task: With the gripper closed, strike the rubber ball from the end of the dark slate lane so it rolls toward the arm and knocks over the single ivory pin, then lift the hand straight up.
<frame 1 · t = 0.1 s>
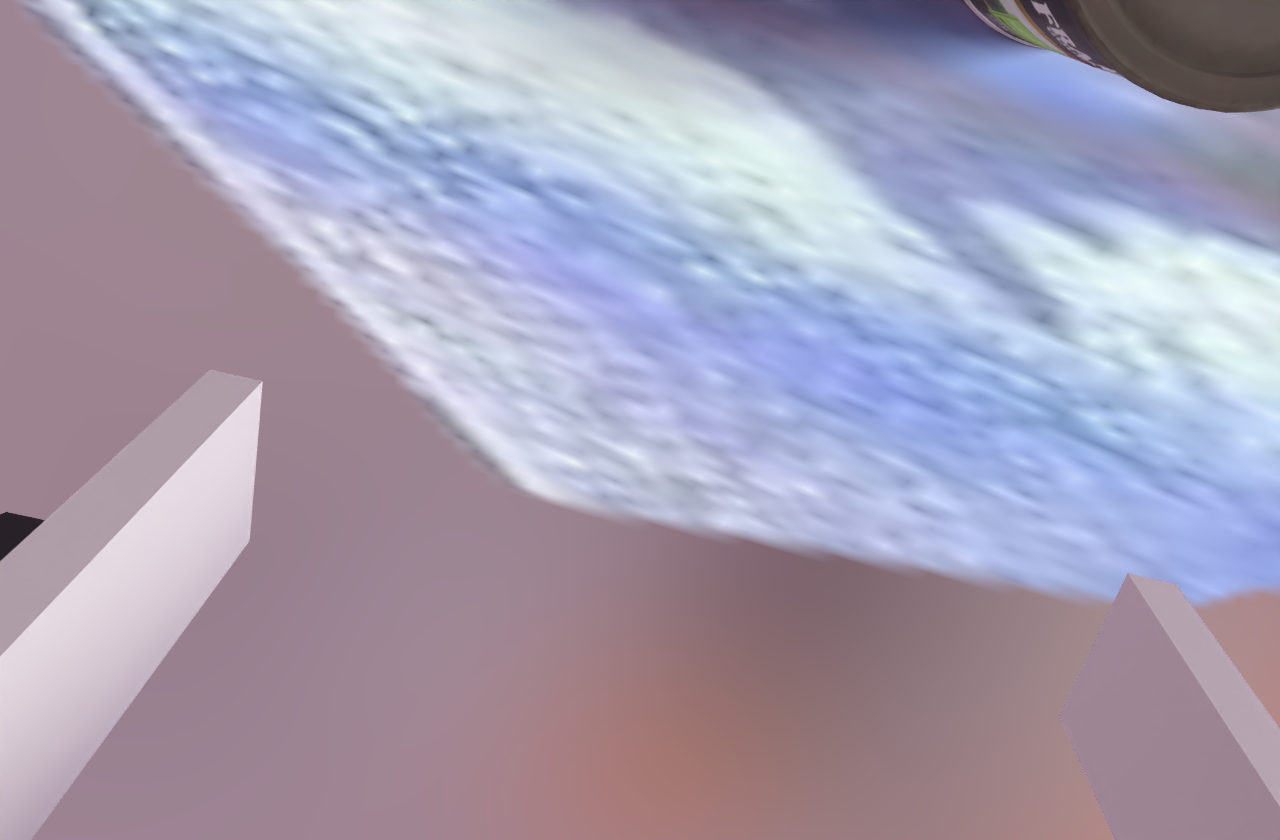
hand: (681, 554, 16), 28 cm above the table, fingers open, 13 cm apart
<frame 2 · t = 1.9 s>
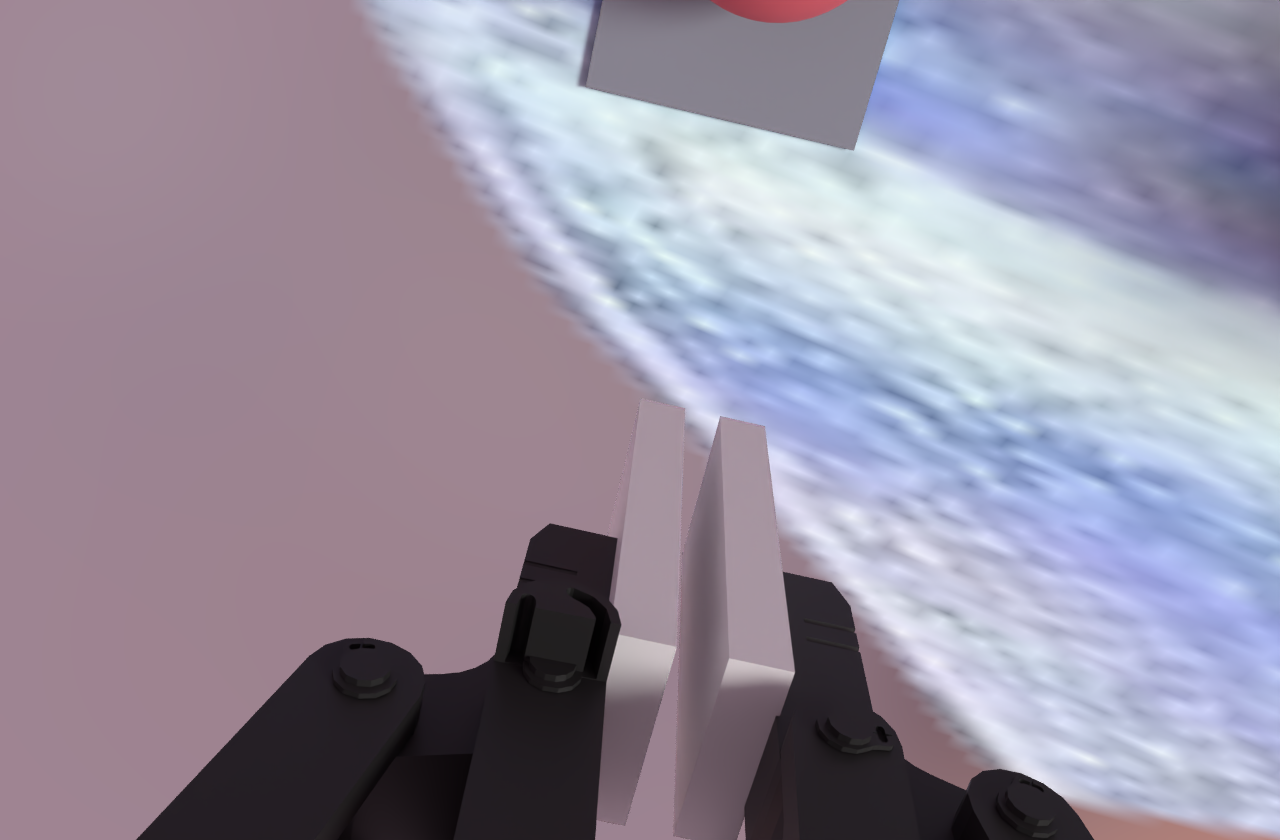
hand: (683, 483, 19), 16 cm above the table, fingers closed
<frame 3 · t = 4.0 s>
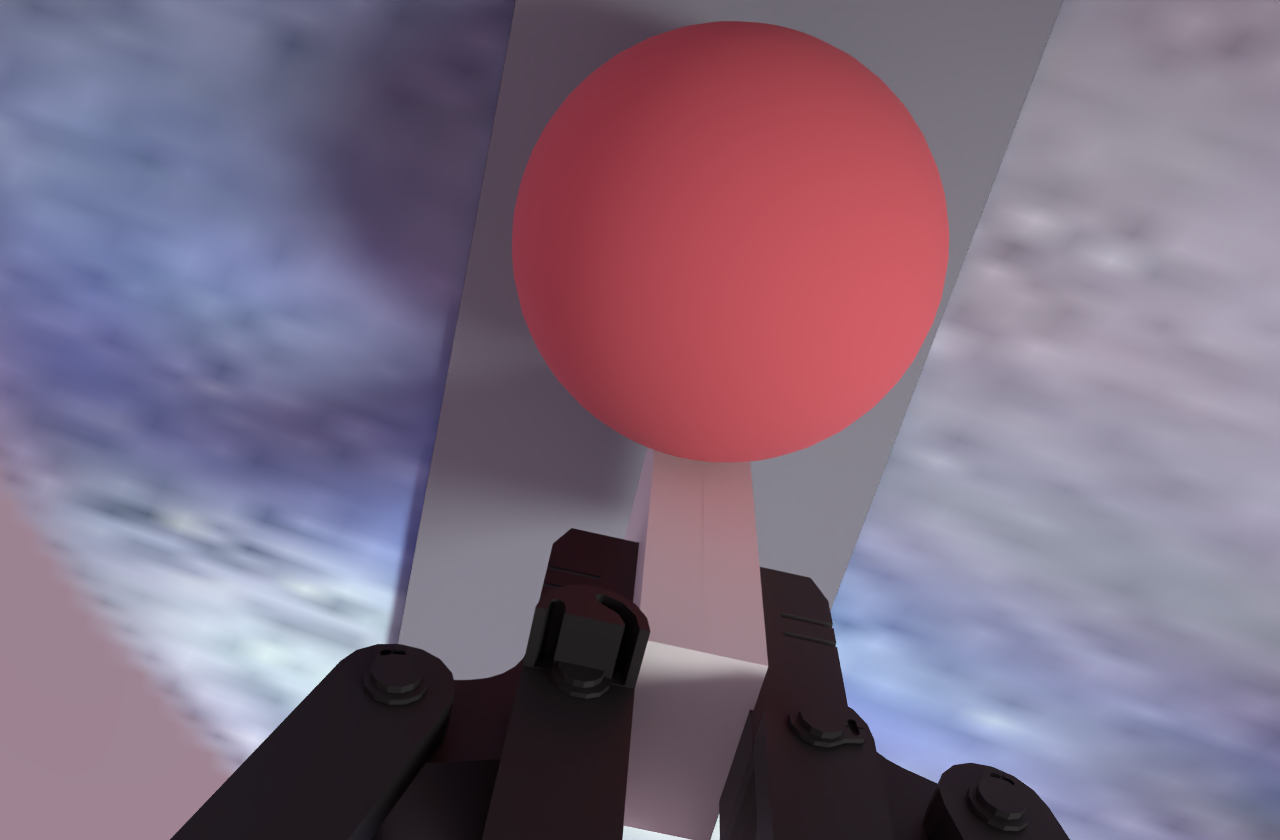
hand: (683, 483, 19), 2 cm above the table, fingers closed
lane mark: (778, 25, 17), on the table
ball: (727, 248, 15), resting on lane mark
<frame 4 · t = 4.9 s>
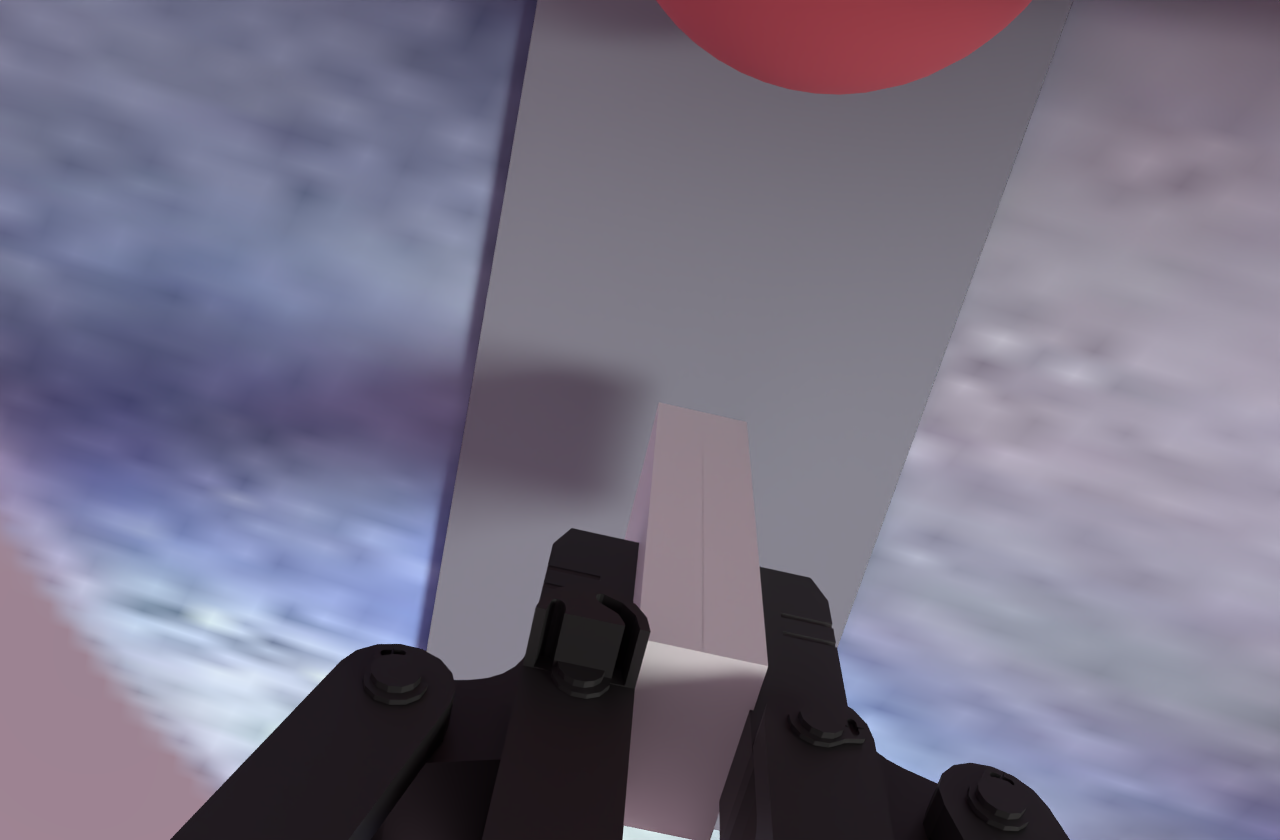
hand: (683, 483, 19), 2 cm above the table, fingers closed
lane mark: (755, 170, 18), on the table
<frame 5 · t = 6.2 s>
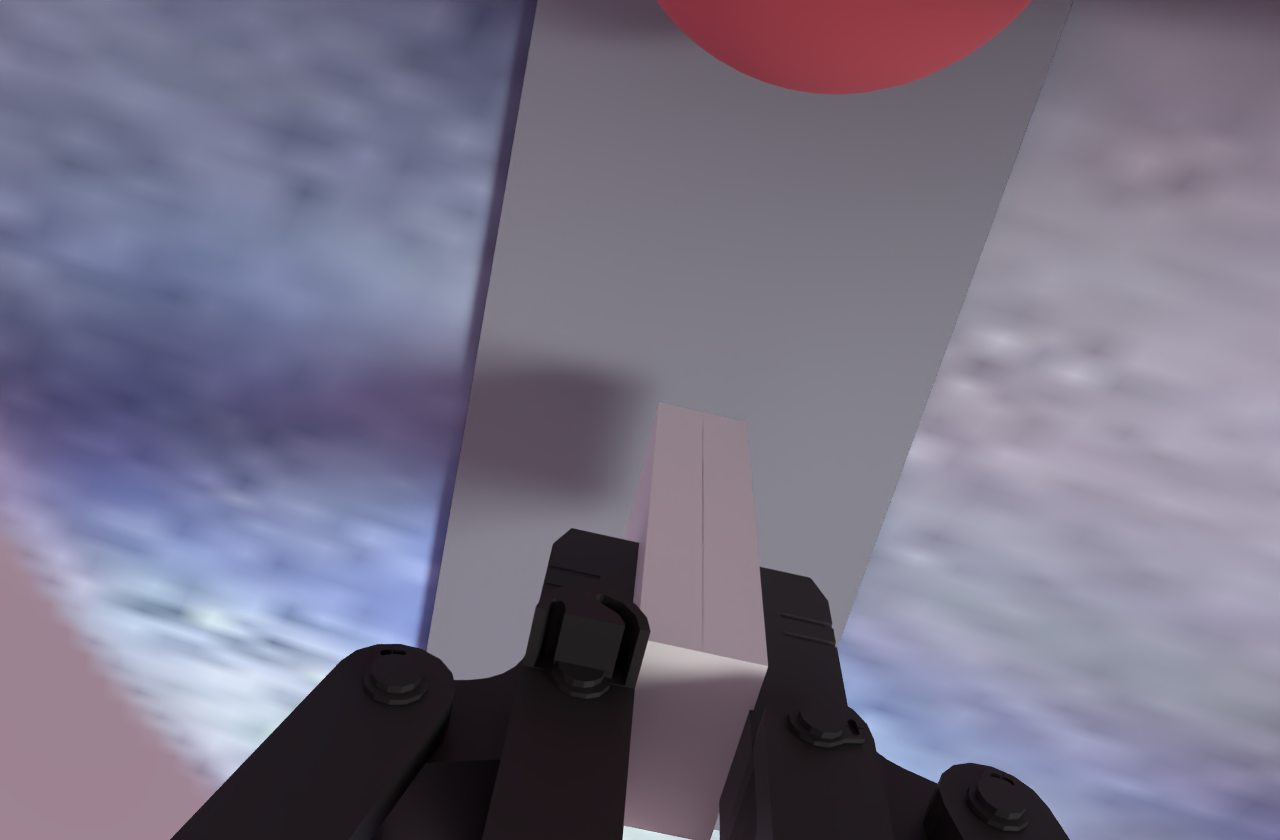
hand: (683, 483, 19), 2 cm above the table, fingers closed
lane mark: (755, 170, 18), on the table
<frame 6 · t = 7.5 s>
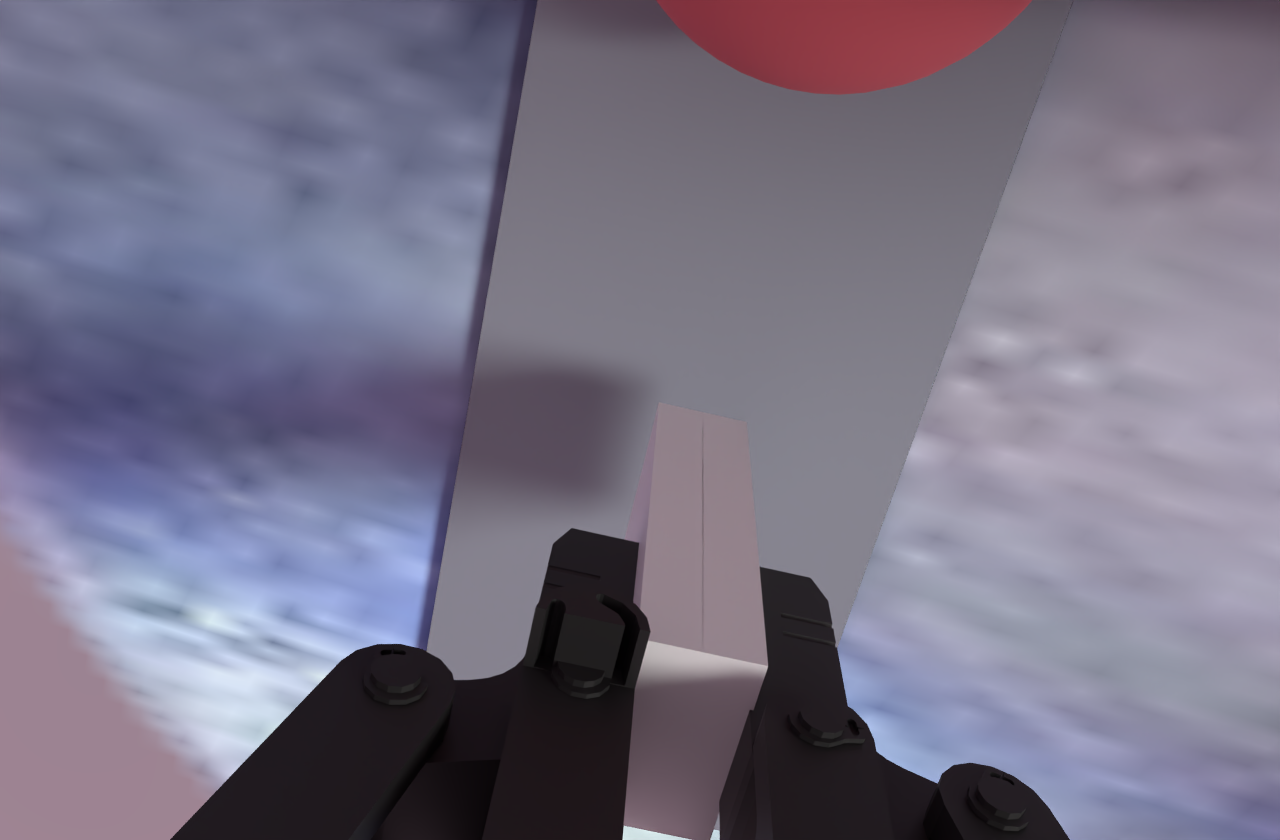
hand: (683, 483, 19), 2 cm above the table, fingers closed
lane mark: (755, 170, 18), on the table
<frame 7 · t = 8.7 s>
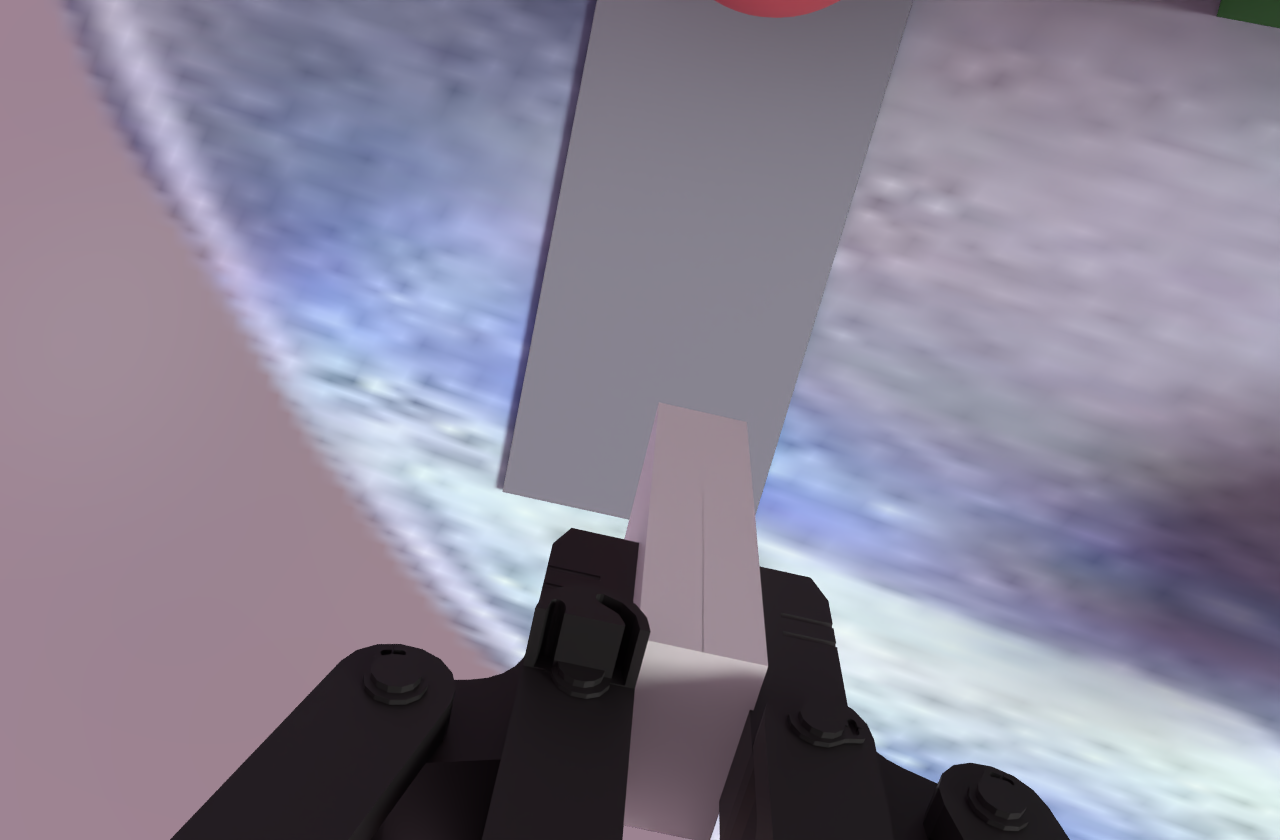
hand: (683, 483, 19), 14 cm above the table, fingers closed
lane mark: (735, 74, 30), on the table
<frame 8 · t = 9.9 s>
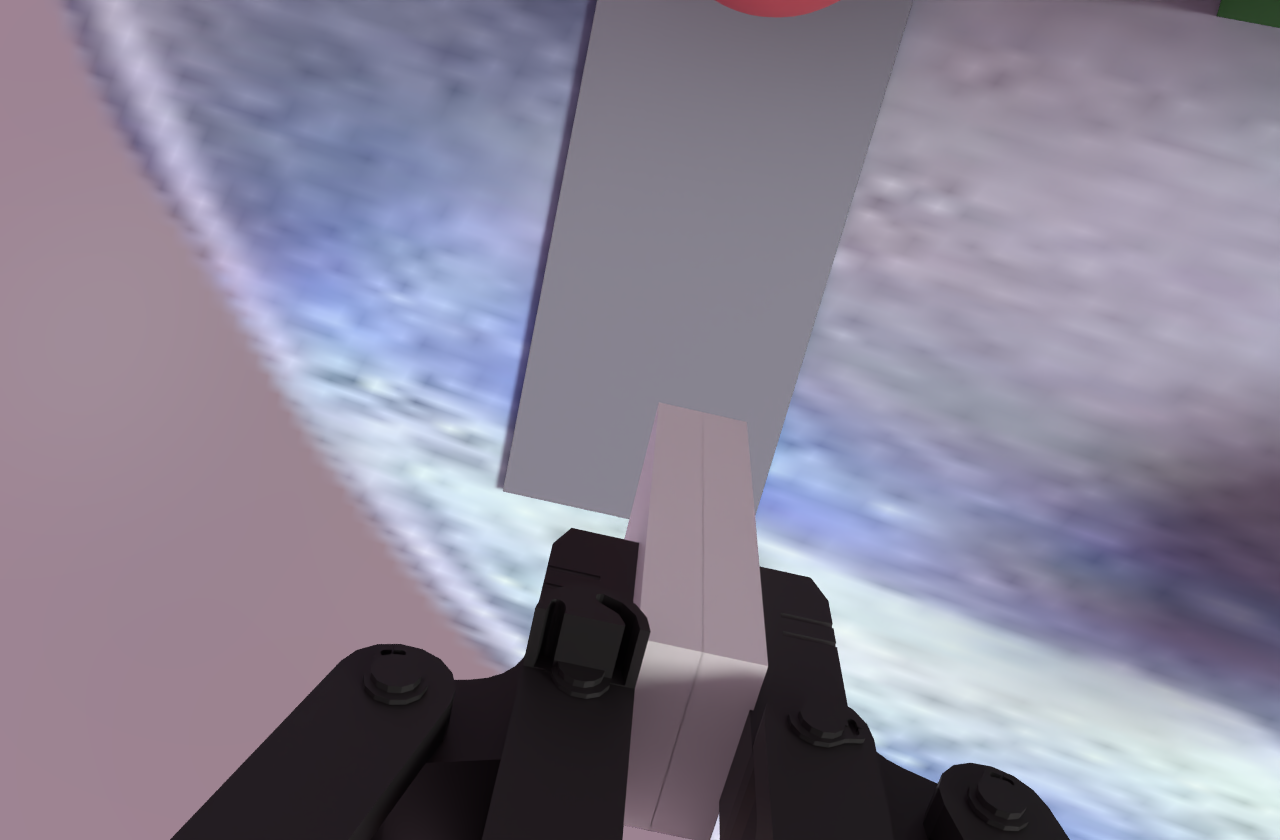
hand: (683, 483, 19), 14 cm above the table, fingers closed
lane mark: (735, 74, 30), on the table
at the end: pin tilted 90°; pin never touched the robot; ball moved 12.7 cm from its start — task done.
